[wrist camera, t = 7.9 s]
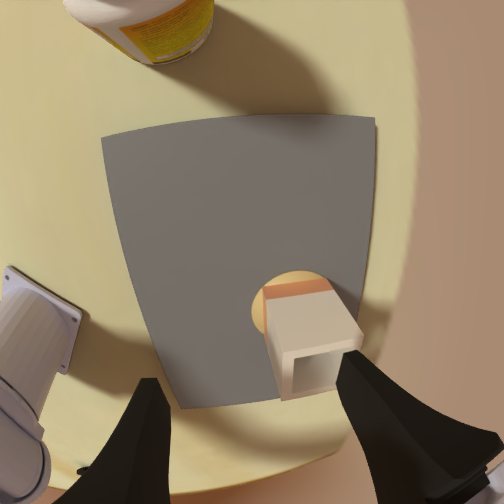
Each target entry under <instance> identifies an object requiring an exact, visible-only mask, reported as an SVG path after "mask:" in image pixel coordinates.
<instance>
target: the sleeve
mask: <svg viewBox="0 0 504 504" xmlns="http://www.w3.org/2000/svg"><path fill="white" fill-rule="evenodd" d="M262 298H263V321H264V337H265V341H266V345H267V349H268V353H269V357H270V360H271V364H272V368H273V372H274V376H275V380H276V383H277V387H278V391H279V395H280V398H281V401H285V400H291V399H296V398H301V397H306V396H310V395H315V394H319V393H323V392H328V391H332V390H336V389H337V387H336V384H335V383H336V380H337V376H338V372H339V368H340V364H341V360H342V356H343V353H345V352H349V351H353V350H358V351H359V352H360V351H361V347H362V343H363V339H364V334H363V333H362V331H361V329H360V328H359V326H358V325H357V323H356V322H355V320H354V319H353V317H352V316H351V314H350V313H349V311H348V310H347V308H346V307H345V305H344V304H343V302H342V301H341V299H340V298H339V296H338V295H337V293H336V292H335V290H334V289H333V287H332V286H331V285H330V283H329V282H328V280H327V279H326V278H321V279H314V280H307V281H300V282H293V283H285V284H278V285H270V286H262Z"/></svg>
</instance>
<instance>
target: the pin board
mask: <svg viewBox="0 0 504 504" xmlns="http://www.w3.org/2000/svg"><path fill="white" fill-rule="evenodd" d="M101 142H102V149H103V156H104V163H105V169H106V175H107V181H108V186H109V192H110V197H111V202H112V207H113V211H114V216H115V221H116V225H117V229H118V233H119V237H120V241H121V245H122V249H123V253H124V257H125V260H126V264H127V267H128V271H129V274H130V278H131V281H132V284H133V288H134V291H135V294H136V297H137V300H138V303H139V306H140V309H141V312H142V315H143V318H144V321H145V324H146V326H147V329H148V332H149V335H150V337H151V340H152V343H153V345H154V348H155V350H156V353H157V355H158V358H159V360H160V363H161V365H162V367H163V370H164V372H165V375H166V377H167V379H168V381H169V384H170V386H171V388H172V390H173V393H174V395H175V397H176V399H177V401H178V403H179V405H180V408H181V409H192V408H206V407H218V406H228V405H237V404H245V403H252V402H259V401H265V400H272V399H277V398H280V395H279V391H278V387H277V383H276V380H275V376H274V372H273V368H272V364H271V360H270V357H269V353H268V349H267V345H266V341H265V337H264V321H263V298H262V286H270V285H278V284H285V283H293V282H300V281H307V280H314V279H321V278H326V279H327V280H328V282H329V283H330V285H331V286H332V287H333V289H334V290H335V292H336V293H337V295H338V296H339V298H340V299H341V301H342V302H343V304H344V305H345V307H346V308H347V310H348V311H349V313H350V314H351V316H352V317H353V319H354V320H355V322H356V321H357V315H358V310H359V305H360V299H361V294H362V288H363V281H364V275H365V268H366V261H367V254H368V246H369V237H370V227H371V217H372V205H373V191H374V171H375V118H373V117H362V116H349V115H330V114H264V115H245V116H231V117H220V118H210V119H201V120H193V121H185V122H178V123H172V124H166V125H160V126H154V127H148V128H143V129H138V130H133V131H128V132H124V133H119V134H115V135H111V136H107V137H103V138H101Z"/></svg>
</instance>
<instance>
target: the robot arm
mask: <svg viewBox="0 0 504 504" xmlns="http://www.w3.org/2000/svg"><path fill="white" fill-rule="evenodd" d="M8 276H9V277H8ZM82 315H83V314H82V312H81V311H80V310H79V309H78V308H76V307H74V306H72V305H70V304H69V303H67V302H65V301H63V300H62V299H60V298H58V297H57V296H55V295H53V294H52V293H50V292H48V291H47V290H45V289H44V288H42V287H40V286H39V285H37V284H36V283H34V282H33V281H31V280H30V279H28V278H27V277H25V276H24V275H22V274H21V273H19V272H18V271H16V270H15V269H13V268H12V267H11V266H6V267H5V268H4V274H3V288H2V300H1V301H0V504H30V503H32V502H34V501H35V500H37V499H38V498H39V497H40V496H41V495H42V494H43V493H44V491H45V490H46V488H47V486H48V483H49V480H50V475H51V458H50V454H49V451H48V448H47V446H46V445H45V443H44V442H43V441H42V437H43V434H44V428H43V427H42V426H41V425H40V424H39V423H38V421H39V418H40V415H41V412H42V409H43V406H44V403H45V401H46V398H47V395H48V393H49V390H50V388H51V385H52V383H53V380H54V378H55V375H56V373H57V372H59V373H61V374H63V375H66V374H67V371H68V367H69V363H70V358H71V355H72V351H73V347H74V343H75V340H76V336H77V332H78V329H79V326H80V322H81V319H82ZM75 318H76V319H75ZM335 384H336V387H337V390H338V394H339V397H340V400H341V403H342V405H343V408H344V410H345V412H346V414H347V416H348V418H349V420H350V423H351V425H352V427H353V429H354V431H355V433H356V435H357V437H358V439H359V441H360V444H361V446H362V448H363V451H364V453H365V456H366V459H367V463H368V466H369V469H370V472H371V476H372V480H373V483H374V487H375V492H376V496H377V501H378V504H504V460H503V461H502V462H501V463H499V464H498V465H497V466H496V467H495V468H493V469H492V470H491V471H489V472H488V473H487V474H485V471H486V470H487V466H486V465H487V464H488V463H489V462H490V461H491V460H493V459H494V458H495V457H496V456H497V455H498V454H499V453H500V452H501V451H502V450H504V444H503V442H502V441H501V439H500V437H499V436H498V434H497V433H495V432H491V431H487V430H483V429H479V428H476V427H473V426H470V425H467V424H464V423H461V422H459V421H457V420H454V419H452V418H450V417H448V416H446V415H443V414H441V413H439V412H437V411H436V410H434V409H432V408H430V407H429V406H427V405H425V404H424V403H422V402H421V401H419V400H418V399H416V398H415V397H413V396H412V395H411V394H409V393H408V392H407V391H405V390H404V389H403V388H401V387H400V386H399V385H397V384H396V383H395V382H394V381H393V380H391V379H390V378H389V377H388V376H386V375H385V374H384V373H383V372H382V371H381V370H380V369H378V368H377V367H376V366H375V365H374V364H373V363H372V362H371V361H369V360H368V359H367V358H366V357H365V356H364V355H363V354H362V353H360V352H359V351H358V350H353V351H349V352H345V353H343V356H342V360H341V364H340V368H339V372H338V376H337V380H336V383H335ZM170 440H171V413H170V405H169V403H168V401H167V399H166V397H165V395H164V393H163V391H162V388H161V386H160V384H159V382H158V380H157V378H142V379H141V380H140V381H139V383H138V386H137V388H136V390H135V392H134V394H133V396H132V398H131V400H130V402H129V404H128V406H127V408H126V410H125V412H124V413H123V415H122V417H121V419H120V421H119V423H118V425H117V426H116V428H115V430H114V431H113V433H112V435H111V436H110V438H109V440H108V441H107V443H106V444H105V446H104V447H103V449H102V450H101V452H100V453H99V455H98V456H97V457H96V459H95V460H94V461H93V463H92V464H91V465H90V466H89V468H88V469H87V470H86V471H85V472H84V474H83V475H82V476H81V477H80V478H79V479H78V480H77V481H76V482H75V483H74V484H73V485H72V486H71V487H70V488H69V489H68V490H67V491H66V492H65V493H64V494H63V495H62V496H61V497H60V498H58V499H57V500H56V501H54V502H53V503H52V504H170V495H169V481H168V474H169V456H170Z"/></svg>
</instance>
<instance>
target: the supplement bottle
mask: <svg viewBox="0 0 504 504" xmlns="http://www.w3.org/2000/svg"><path fill="white" fill-rule="evenodd" d="M63 3H64V5H65V8H66V9H67V11H68V12H69V14H70V15H71V16H72V17H74V18H75V19H76V20H77V21H79V22H80V23H82V24H83V25H85V26H86V27H87V28H89V29H90V30H92V31H93V32H95V33H96V34H98V35H99V36H101V37H102V38H103V39H105V40H106V41H107V42H109V43H110V44H112V45H113V46H114V47H116V48H117V49H119V50H120V51H121V52H123V53H124V54H126V55H127V56H128V57H130V58H132V59H133V60H135V61H138V62H141V63H144V64H152V65H159V64H167V63H171V62H174V61H177V60H180V59H182V58H184V57H186V56H188V55H190V54H191V53H193V52H194V51H195V50H196V49H198V48H199V47H200V46H201V45H202V44H203V42H204V41H205V40H206V38H207V37H208V35H209V33H210V31H211V28H212V25H213V17H214V0H63Z"/></svg>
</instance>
